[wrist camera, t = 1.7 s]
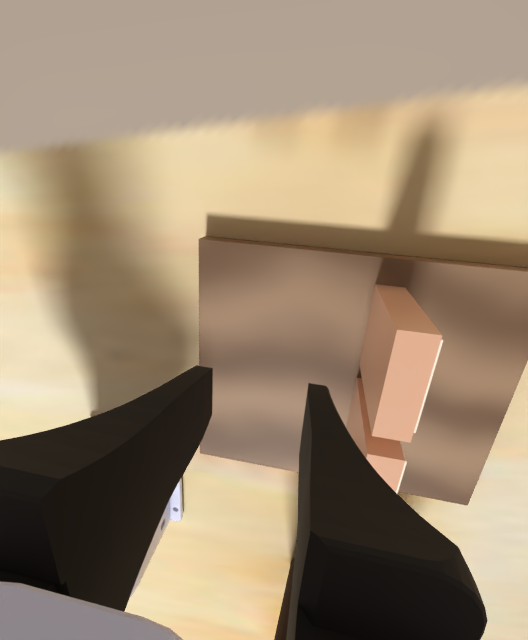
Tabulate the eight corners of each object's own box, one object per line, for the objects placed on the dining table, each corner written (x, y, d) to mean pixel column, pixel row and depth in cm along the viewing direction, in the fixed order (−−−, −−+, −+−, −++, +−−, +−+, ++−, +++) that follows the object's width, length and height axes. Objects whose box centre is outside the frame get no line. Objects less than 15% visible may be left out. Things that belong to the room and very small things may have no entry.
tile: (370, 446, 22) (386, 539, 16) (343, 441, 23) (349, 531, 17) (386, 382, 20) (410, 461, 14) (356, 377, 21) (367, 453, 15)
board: (461, 490, 24) (467, 505, 23) (205, 442, 26) (199, 453, 25) (548, 270, 18) (563, 275, 17) (205, 236, 20) (198, 239, 19)
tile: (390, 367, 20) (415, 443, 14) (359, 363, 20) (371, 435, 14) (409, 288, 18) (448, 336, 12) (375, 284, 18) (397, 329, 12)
